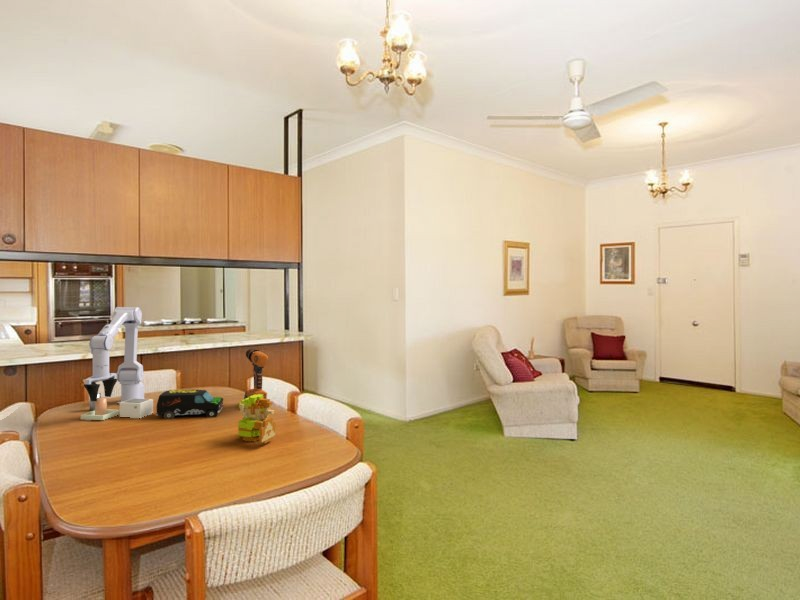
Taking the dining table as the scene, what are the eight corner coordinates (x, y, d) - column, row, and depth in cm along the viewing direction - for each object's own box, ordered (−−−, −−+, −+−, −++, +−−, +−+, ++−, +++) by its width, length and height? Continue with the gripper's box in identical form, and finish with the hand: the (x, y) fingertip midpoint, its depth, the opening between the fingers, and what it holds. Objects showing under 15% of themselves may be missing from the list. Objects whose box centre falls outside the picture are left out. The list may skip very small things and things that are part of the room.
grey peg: (94, 408, 202) (94, 392, 202) (102, 409, 202) (103, 392, 202) (87, 410, 198) (87, 394, 198) (95, 411, 198) (95, 394, 198)
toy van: (220, 417, 192) (220, 393, 192) (154, 419, 187) (154, 395, 187) (224, 410, 202) (224, 387, 202) (162, 413, 197) (162, 389, 197)
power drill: (239, 400, 220) (239, 347, 220) (254, 398, 225) (255, 347, 224) (253, 410, 203) (253, 353, 202) (269, 408, 207) (270, 352, 206)
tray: (99, 413, 194) (99, 408, 194) (120, 414, 193) (120, 409, 193) (80, 419, 184) (80, 414, 184) (102, 421, 183) (102, 416, 183)
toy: (261, 448, 155) (262, 403, 154) (225, 443, 158) (225, 399, 158) (284, 434, 169) (285, 393, 169) (250, 431, 173) (251, 390, 173)
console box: (133, 412, 197) (133, 397, 197) (153, 413, 196) (153, 398, 196) (119, 417, 188) (119, 402, 188) (139, 418, 187) (139, 403, 187)
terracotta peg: (100, 414, 191) (100, 397, 191) (109, 414, 190) (109, 397, 190) (92, 416, 187) (92, 399, 187) (101, 417, 186) (101, 400, 186)
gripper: (105, 362, 196) (105, 394, 196) (77, 367, 182) (77, 402, 182) (120, 362, 195) (120, 395, 195) (94, 368, 181) (94, 403, 181)
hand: (101, 398), depth 189 cm, fingers open, 7 cm apart
